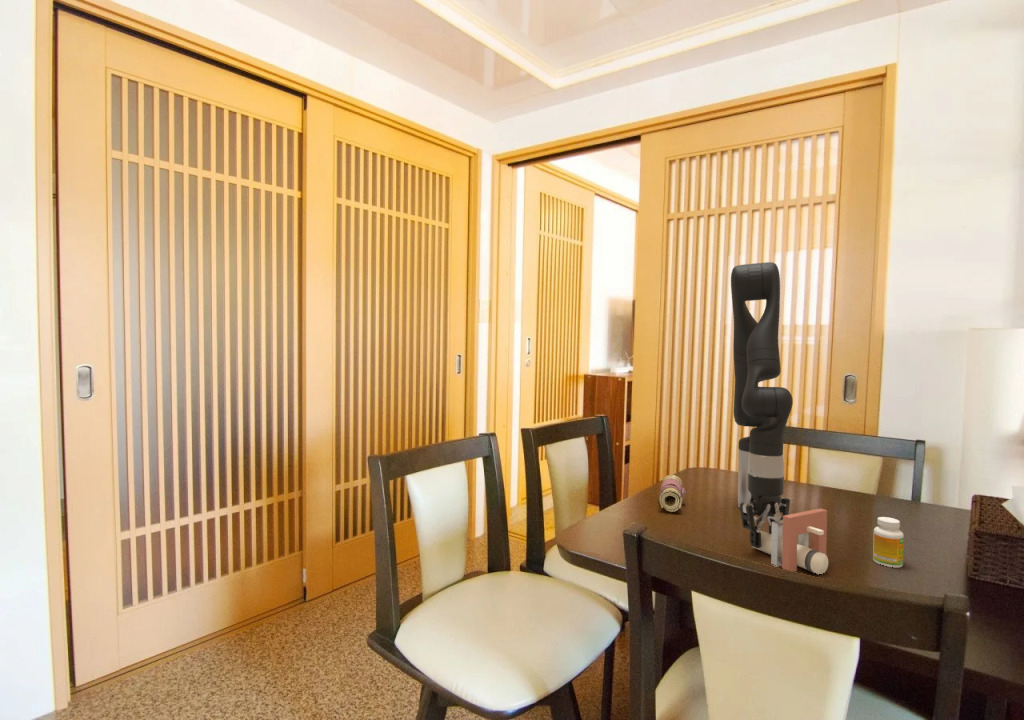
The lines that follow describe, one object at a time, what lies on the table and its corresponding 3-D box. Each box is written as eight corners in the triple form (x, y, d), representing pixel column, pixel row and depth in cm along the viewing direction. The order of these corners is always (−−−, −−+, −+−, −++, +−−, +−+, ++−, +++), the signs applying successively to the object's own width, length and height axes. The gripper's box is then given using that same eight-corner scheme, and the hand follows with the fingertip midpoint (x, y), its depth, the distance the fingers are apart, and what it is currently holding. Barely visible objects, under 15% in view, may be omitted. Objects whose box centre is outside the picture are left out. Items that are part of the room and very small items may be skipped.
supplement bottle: (904, 570, 112) (905, 525, 111) (873, 565, 114) (874, 520, 114) (901, 561, 116) (902, 518, 116) (872, 556, 119) (873, 514, 119)
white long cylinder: (750, 550, 123) (749, 531, 123) (764, 546, 125) (763, 527, 125) (814, 577, 108) (813, 556, 108) (829, 572, 110) (828, 550, 110)
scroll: (689, 511, 147) (691, 492, 166) (678, 486, 148) (681, 470, 167) (664, 519, 149) (668, 500, 168) (652, 495, 150) (658, 478, 169)
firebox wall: (819, 561, 116) (820, 508, 116) (839, 569, 112) (840, 514, 112) (782, 571, 111) (782, 515, 111) (801, 580, 107) (802, 522, 106)
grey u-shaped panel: (802, 556, 119) (802, 515, 118) (808, 559, 117) (808, 517, 117) (771, 564, 115) (771, 521, 114) (777, 567, 113) (777, 523, 113)
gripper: (773, 466, 128) (772, 534, 128) (730, 472, 122) (729, 544, 122) (801, 473, 121) (800, 545, 121) (757, 479, 115) (756, 556, 115)
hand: (764, 544), depth 122 cm, fingers open, 5 cm apart
